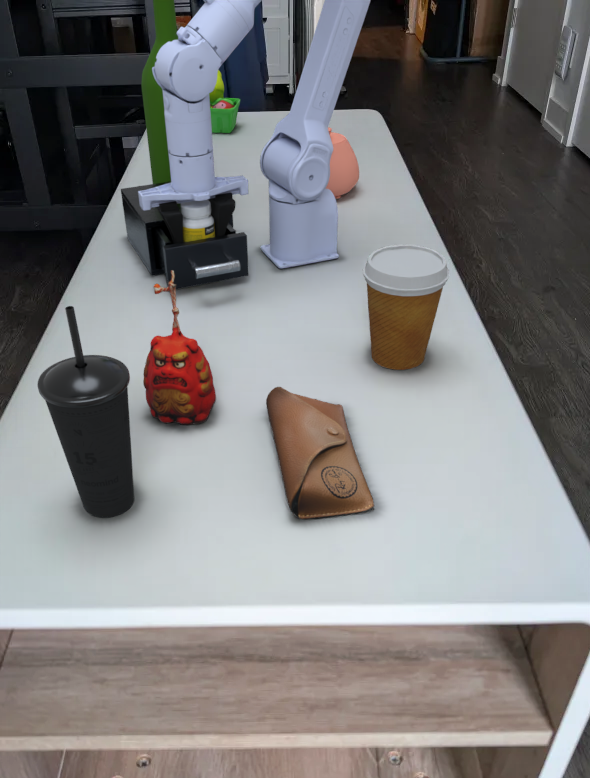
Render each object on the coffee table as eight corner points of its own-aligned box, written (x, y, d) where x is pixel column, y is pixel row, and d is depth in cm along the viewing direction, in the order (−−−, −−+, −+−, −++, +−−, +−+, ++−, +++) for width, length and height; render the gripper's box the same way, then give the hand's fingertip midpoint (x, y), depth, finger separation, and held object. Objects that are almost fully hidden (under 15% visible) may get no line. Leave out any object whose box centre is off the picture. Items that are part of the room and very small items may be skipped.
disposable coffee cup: (444, 343, 97) (457, 248, 89) (429, 383, 91) (442, 284, 83) (368, 332, 100) (374, 238, 92) (348, 370, 93) (353, 272, 85)
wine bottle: (197, 223, 128) (177, -18, 106) (147, 217, 130) (117, -20, 109) (218, 203, 134) (203, -28, 113) (169, 198, 136) (146, -30, 115)
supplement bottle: (212, 272, 109) (207, 210, 104) (179, 269, 110) (173, 208, 104) (220, 257, 113) (216, 197, 107) (188, 255, 114) (183, 195, 108)
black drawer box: (235, 260, 117) (232, 208, 112) (151, 275, 113) (145, 223, 108) (204, 225, 127) (201, 176, 122) (127, 238, 124) (120, 188, 119)
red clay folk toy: (141, 426, 85) (121, 296, 75) (157, 391, 90) (140, 264, 81) (211, 431, 84) (200, 299, 74) (223, 395, 89) (214, 268, 80)
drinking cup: (72, 479, 79) (27, 289, 65) (149, 473, 79) (121, 284, 66) (63, 530, 73) (12, 334, 60) (147, 525, 73) (115, 328, 60)
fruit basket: (181, 134, 164) (175, 73, 157) (191, 121, 171) (186, 62, 163) (235, 135, 163) (232, 74, 155) (243, 123, 169) (241, 63, 162)
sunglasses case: (381, 507, 74) (347, 461, 70) (316, 543, 75) (280, 500, 71) (341, 401, 87) (311, 358, 83) (287, 434, 89) (255, 393, 85)
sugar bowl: (355, 205, 132) (358, 140, 126) (272, 202, 134) (271, 138, 127) (361, 180, 141) (364, 118, 135) (283, 177, 143) (282, 116, 136)
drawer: (260, 289, 107) (259, 248, 104) (179, 305, 104) (175, 263, 101) (217, 240, 120) (215, 201, 116) (144, 253, 117) (139, 213, 113)
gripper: (143, 167, 97) (155, 273, 106) (254, 151, 101) (258, 255, 109) (129, 150, 102) (142, 253, 111) (236, 136, 105) (240, 236, 114)
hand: (199, 253), depth 110 cm, fingers closed on supplement bottle, 5 cm apart
